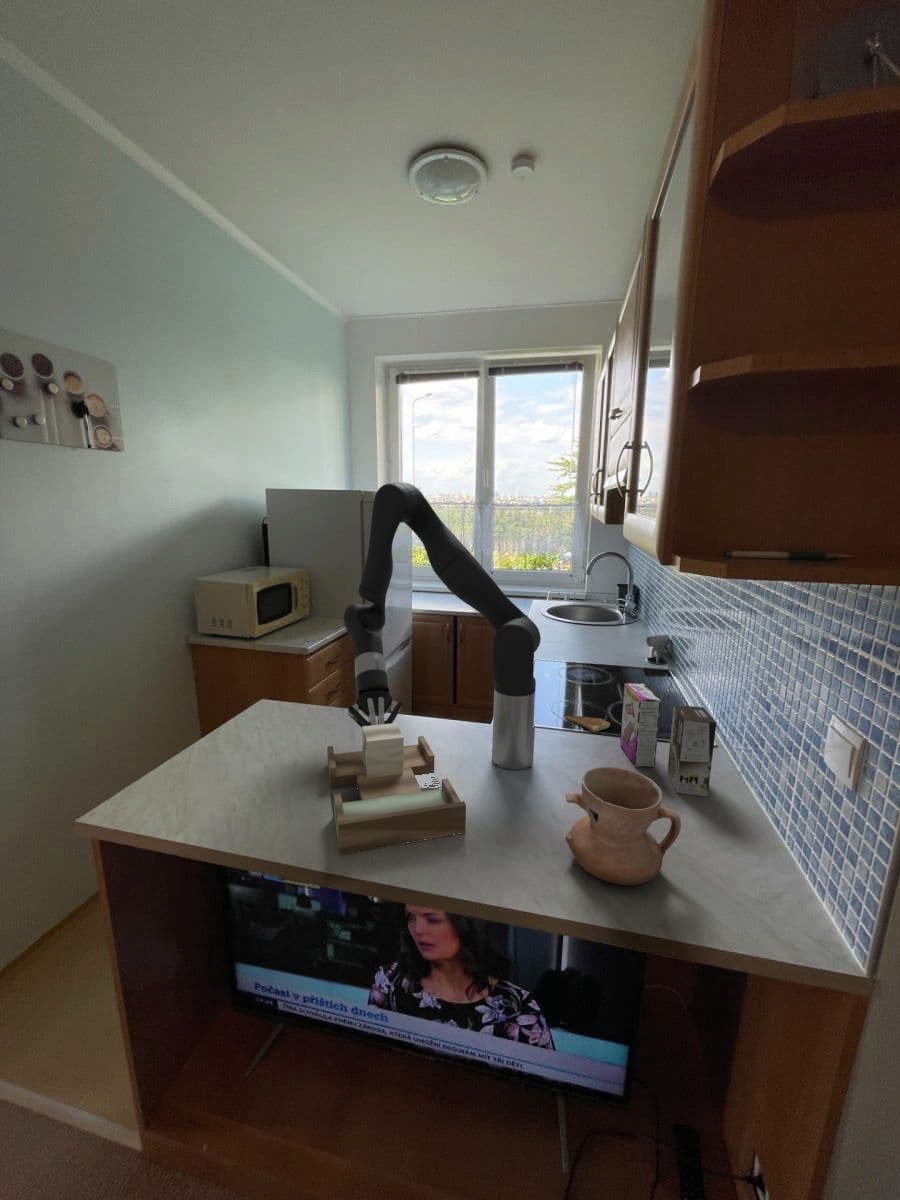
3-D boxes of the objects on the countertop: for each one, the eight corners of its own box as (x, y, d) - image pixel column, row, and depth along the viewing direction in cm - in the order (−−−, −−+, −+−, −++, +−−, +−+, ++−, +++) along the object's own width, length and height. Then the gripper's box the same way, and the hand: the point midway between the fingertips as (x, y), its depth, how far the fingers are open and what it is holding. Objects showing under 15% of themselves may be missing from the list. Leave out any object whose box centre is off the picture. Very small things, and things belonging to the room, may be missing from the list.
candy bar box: (618, 745, 126) (623, 682, 123) (638, 746, 126) (644, 683, 123) (633, 767, 115) (639, 699, 112) (655, 768, 115) (662, 699, 112)
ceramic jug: (558, 883, 78) (565, 800, 75) (561, 827, 92) (568, 755, 89) (683, 910, 74) (696, 823, 71) (667, 847, 88) (677, 772, 85)
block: (362, 760, 110) (362, 726, 109) (396, 756, 112) (396, 722, 111) (367, 778, 103) (367, 741, 102) (403, 773, 105) (403, 737, 104)
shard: (563, 720, 142) (563, 714, 142) (582, 714, 146) (583, 709, 146) (593, 734, 133) (593, 728, 133) (612, 728, 137) (613, 722, 137)
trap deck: (327, 765, 113) (327, 742, 112) (423, 753, 119) (423, 732, 118) (339, 855, 83) (339, 824, 82) (465, 833, 90) (466, 805, 89)
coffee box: (709, 797, 103) (717, 723, 100) (675, 793, 104) (683, 719, 102) (697, 775, 112) (704, 706, 109) (666, 771, 113) (673, 703, 110)
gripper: (344, 670, 116) (350, 743, 106) (400, 666, 120) (411, 736, 110) (342, 684, 122) (348, 755, 112) (396, 680, 126) (406, 748, 116)
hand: (379, 745), depth 111 cm, fingers closed
